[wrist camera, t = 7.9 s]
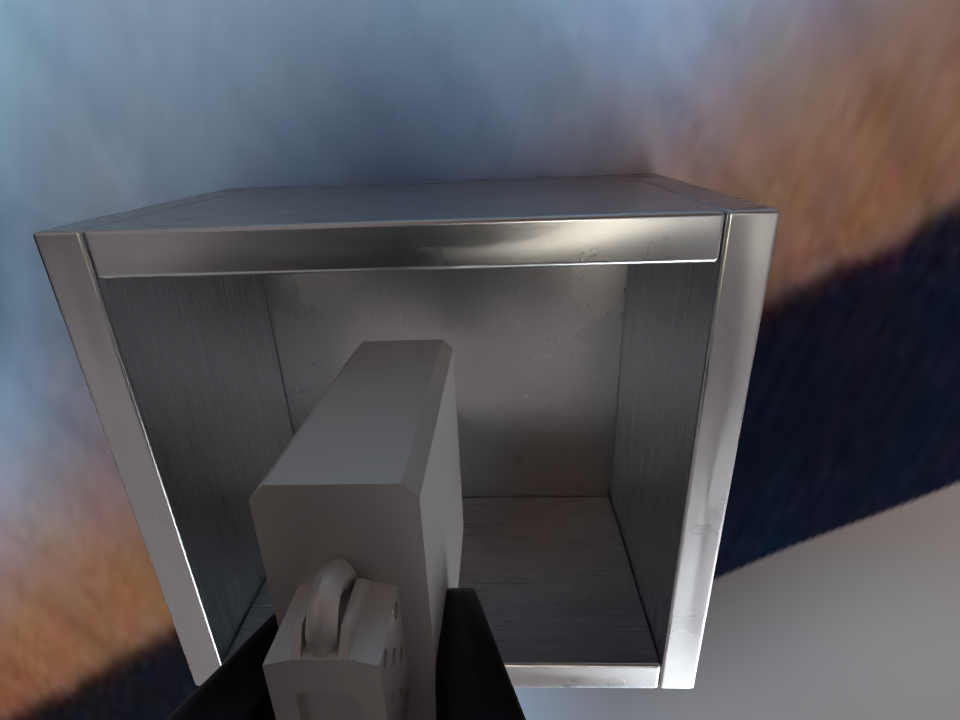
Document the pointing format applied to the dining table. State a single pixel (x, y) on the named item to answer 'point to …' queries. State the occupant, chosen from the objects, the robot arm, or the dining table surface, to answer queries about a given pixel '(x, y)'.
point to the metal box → (478, 382)
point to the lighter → (364, 538)
